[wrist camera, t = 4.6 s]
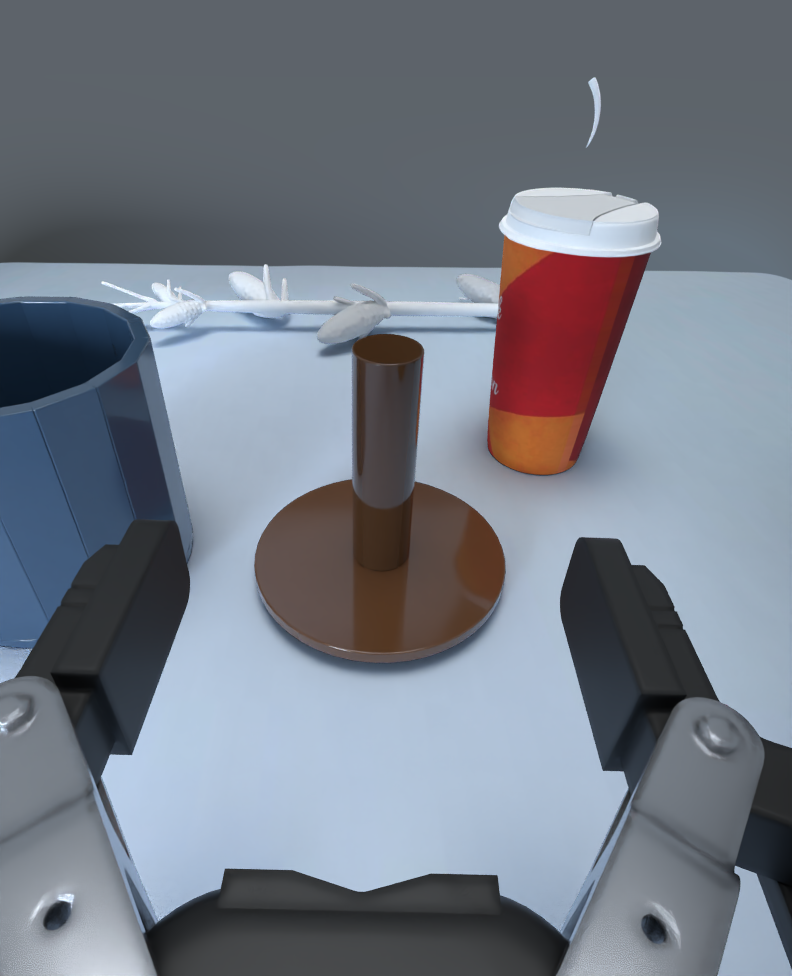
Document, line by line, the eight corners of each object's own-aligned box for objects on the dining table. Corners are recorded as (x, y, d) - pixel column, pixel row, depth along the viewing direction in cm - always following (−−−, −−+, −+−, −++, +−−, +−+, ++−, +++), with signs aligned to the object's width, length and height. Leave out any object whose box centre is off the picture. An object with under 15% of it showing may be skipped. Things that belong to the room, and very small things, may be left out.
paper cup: (534, 405, 41) (581, 180, 33) (623, 461, 36) (705, 213, 28) (443, 436, 38) (468, 192, 29) (526, 503, 33) (586, 233, 24)
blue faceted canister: (120, 465, 34) (65, 278, 28) (237, 552, 29) (203, 349, 23) (-91, 561, 28) (-226, 347, 21) (11, 695, 23) (-126, 467, 16)
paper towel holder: (371, 469, 35) (375, 273, 28) (547, 564, 29) (605, 348, 22) (205, 574, 28) (155, 347, 21) (394, 728, 22) (411, 486, 15)
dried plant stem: (538, 300, 57) (97, 293, 53) (599, 63, 44) (12, 31, 40) (572, 375, 49) (57, 373, 45) (659, 114, 36) (-67, 80, 32)
